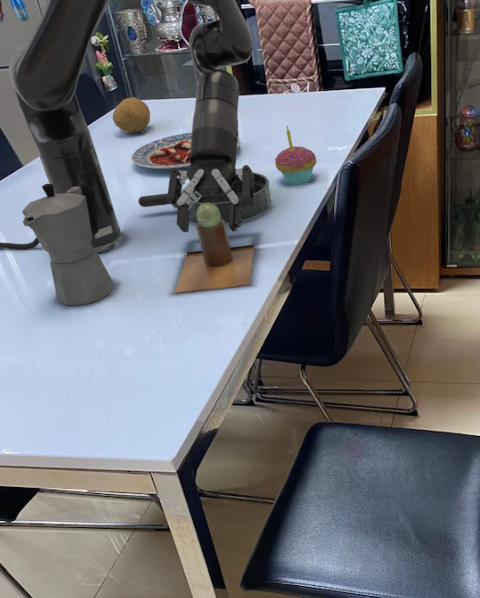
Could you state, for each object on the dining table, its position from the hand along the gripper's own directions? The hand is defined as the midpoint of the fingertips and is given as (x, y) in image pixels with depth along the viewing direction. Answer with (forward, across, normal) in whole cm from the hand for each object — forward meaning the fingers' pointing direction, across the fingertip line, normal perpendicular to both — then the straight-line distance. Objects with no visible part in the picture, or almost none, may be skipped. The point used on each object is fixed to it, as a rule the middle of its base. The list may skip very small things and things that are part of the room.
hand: (208, 230), depth 117 cm
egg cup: (+4, 0, +5) cm, 6 cm away
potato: (-54, -49, +63) cm, 96 cm away
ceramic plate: (-36, -25, +45) cm, 63 cm away
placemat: (+4, 0, +5) cm, 6 cm away
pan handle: (-13, -17, +18) cm, 28 cm away
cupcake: (-22, +6, +31) cm, 39 cm away
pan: (-13, -5, +22) cm, 26 cm away
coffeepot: (+10, -19, -1) cm, 22 cm away
